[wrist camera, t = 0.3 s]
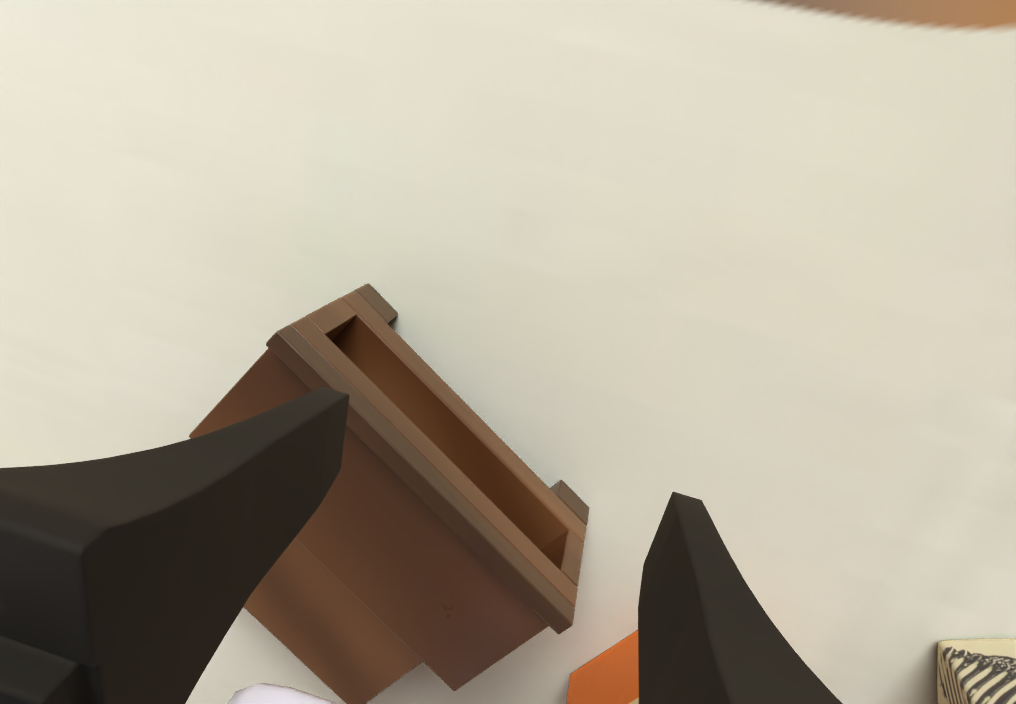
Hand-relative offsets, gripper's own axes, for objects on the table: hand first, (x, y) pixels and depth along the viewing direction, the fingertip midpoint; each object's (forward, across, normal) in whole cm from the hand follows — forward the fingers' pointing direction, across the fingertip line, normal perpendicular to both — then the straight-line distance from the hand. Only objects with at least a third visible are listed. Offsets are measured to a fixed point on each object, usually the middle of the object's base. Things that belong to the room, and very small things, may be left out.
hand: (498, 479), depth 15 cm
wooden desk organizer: (+10, +6, +10) cm, 15 cm away
